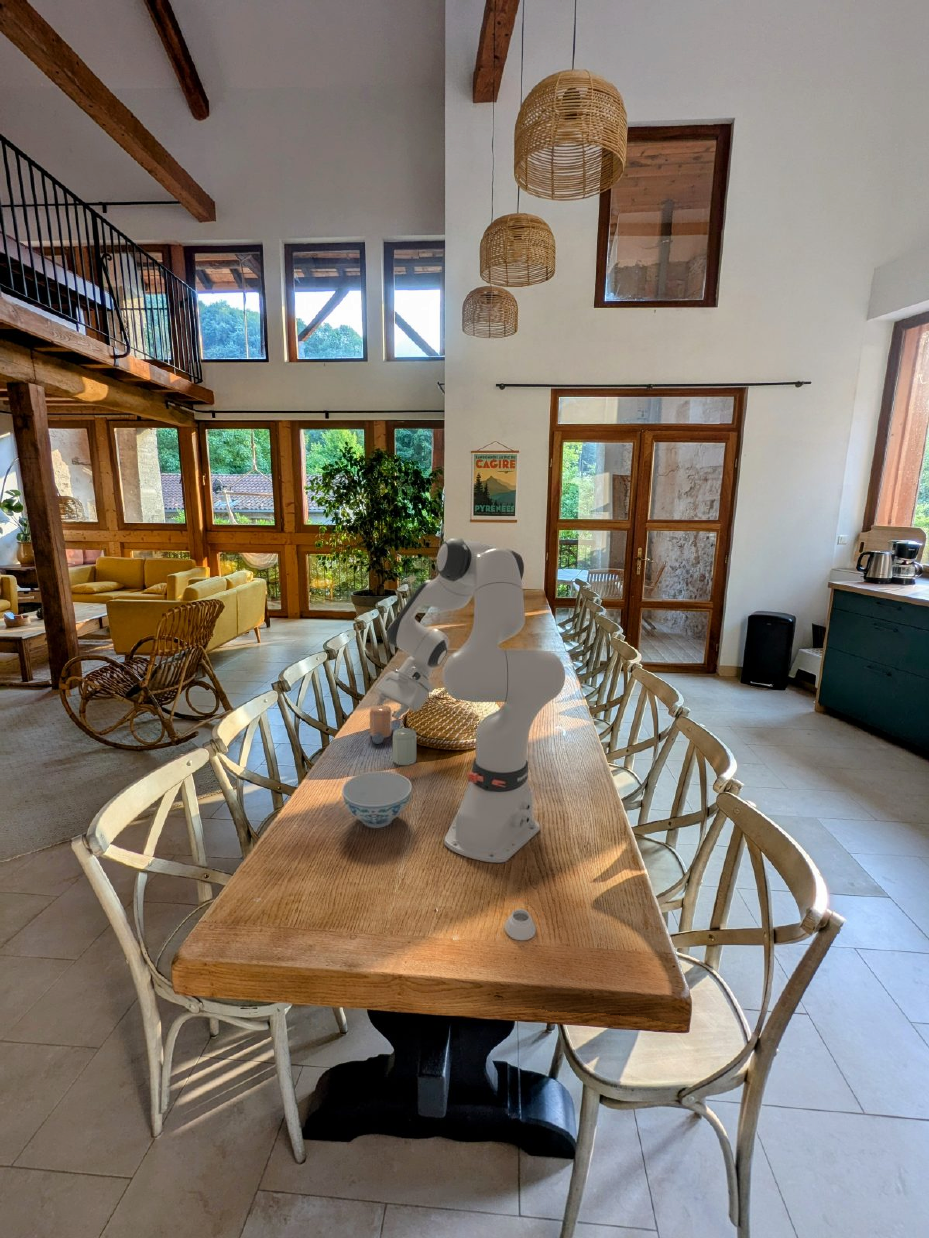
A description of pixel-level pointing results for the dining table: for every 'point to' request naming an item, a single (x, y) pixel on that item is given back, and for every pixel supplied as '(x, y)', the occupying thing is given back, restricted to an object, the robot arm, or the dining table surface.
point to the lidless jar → (520, 925)
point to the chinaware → (377, 797)
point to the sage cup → (404, 746)
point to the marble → (377, 738)
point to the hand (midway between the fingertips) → (385, 713)
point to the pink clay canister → (380, 720)
